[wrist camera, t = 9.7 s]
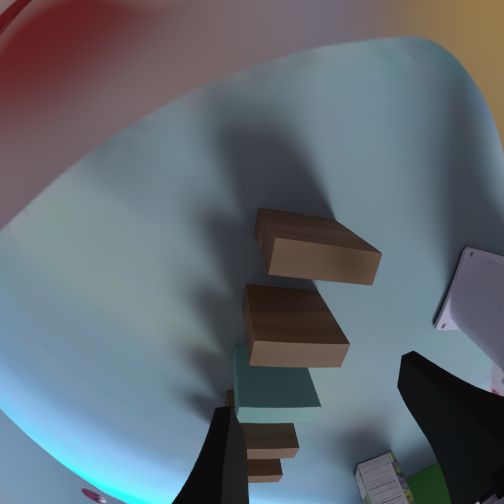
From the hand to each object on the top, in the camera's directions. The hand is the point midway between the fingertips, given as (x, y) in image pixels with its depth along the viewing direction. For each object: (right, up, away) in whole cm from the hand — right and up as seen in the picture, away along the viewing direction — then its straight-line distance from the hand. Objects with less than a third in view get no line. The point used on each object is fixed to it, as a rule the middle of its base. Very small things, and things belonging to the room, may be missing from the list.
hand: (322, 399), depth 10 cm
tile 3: (-3, -7, +12) cm, 14 cm away
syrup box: (+15, -26, +21) cm, 37 cm away
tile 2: (-1, +3, +9) cm, 9 cm away
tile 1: (0, +7, +7) cm, 10 cm away
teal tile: (-2, -2, +11) cm, 11 cm away
